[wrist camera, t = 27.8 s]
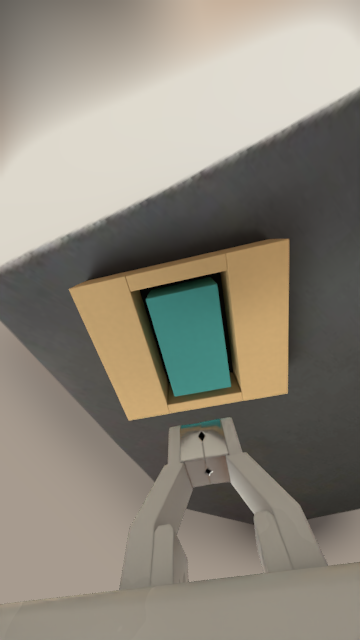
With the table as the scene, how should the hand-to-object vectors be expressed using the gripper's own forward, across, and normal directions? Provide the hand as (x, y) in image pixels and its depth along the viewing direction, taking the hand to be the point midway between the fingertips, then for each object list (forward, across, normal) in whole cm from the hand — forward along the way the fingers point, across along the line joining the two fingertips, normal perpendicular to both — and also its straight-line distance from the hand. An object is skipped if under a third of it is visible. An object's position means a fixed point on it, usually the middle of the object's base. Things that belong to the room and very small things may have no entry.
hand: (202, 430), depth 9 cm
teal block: (+10, 0, 0) cm, 11 cm away
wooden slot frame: (+10, 0, 0) cm, 11 cm away
